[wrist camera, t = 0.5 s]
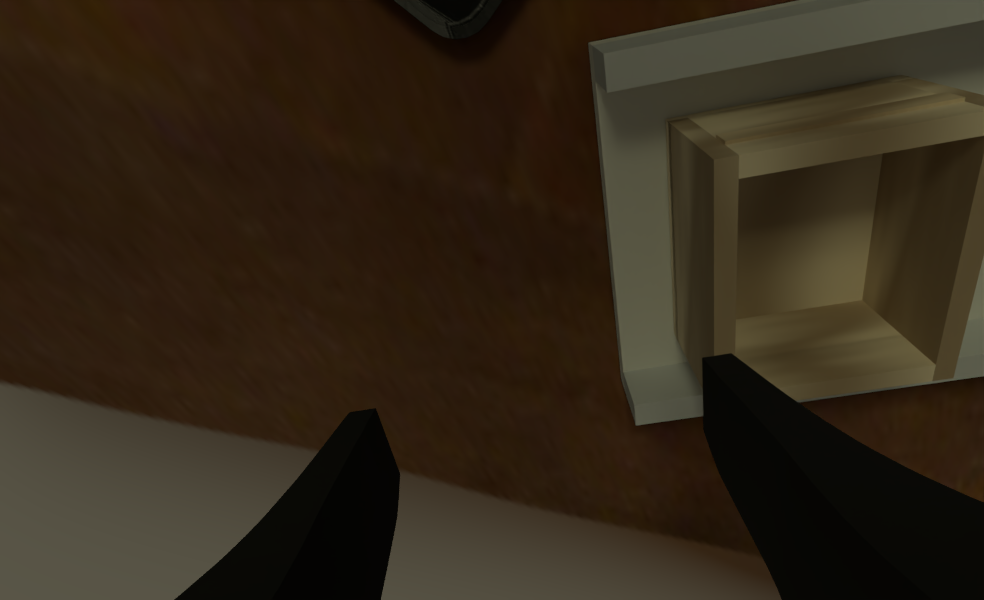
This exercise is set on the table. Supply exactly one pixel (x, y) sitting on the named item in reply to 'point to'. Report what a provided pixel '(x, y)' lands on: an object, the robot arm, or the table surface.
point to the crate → (829, 234)
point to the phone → (452, 15)
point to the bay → (731, 82)
